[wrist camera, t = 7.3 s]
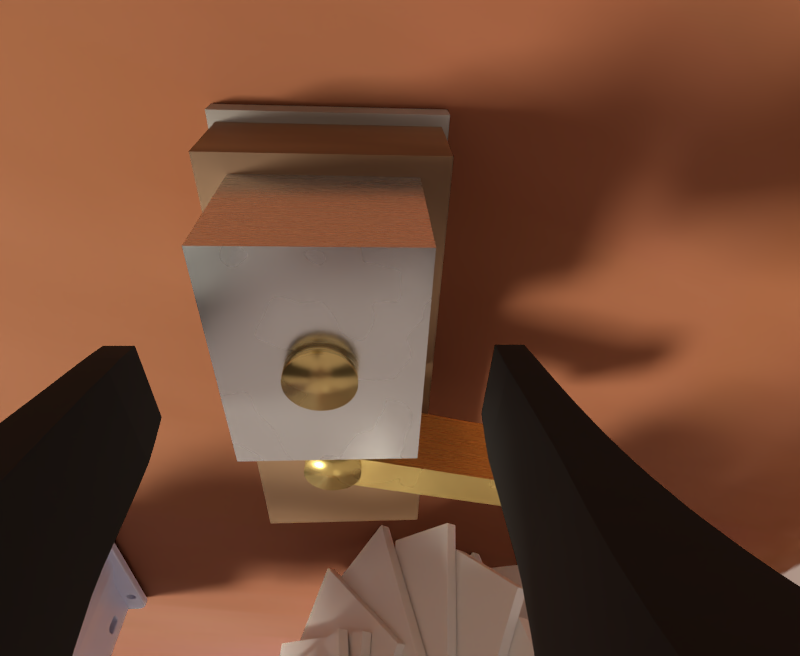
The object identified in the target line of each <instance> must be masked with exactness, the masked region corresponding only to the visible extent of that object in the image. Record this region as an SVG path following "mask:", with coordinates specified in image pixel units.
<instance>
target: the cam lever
mask: <svg viewBox="0 0 800 656" xmlns="http://www.w3.org/2000/svg"><path fill="white" fill-rule="evenodd" d="M304 476H305V478H306V480H307V481H308V482H309V483H310V484H312V485H313V486H315V487H317V488H320V489H324V490H342V489H346V488H349V487H351V486H353V485H357V486H364V487H371V488H378V489H385V490H392V491H399V492H406V493H413V494H420V495H427V496H434V497H441V498H448V499H455V500H462V501H469V502H476V503H483V504H490V505H497V506H501V503H500V500H499V496H498V493H497V489H496V485H495V482H494V478H493V474H492V471H491V467H490V463H489V460H488V454H487V448H486V442H485V435H484V428H483V424H480V423H474V422H469V421H463V420H457V419H452V418H446V417H441V416H435V415H430V414H424V413H421V424H420V435H419V446H418V457H417V458H400V459H345V460H305V467H304Z"/></svg>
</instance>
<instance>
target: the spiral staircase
mask: <svg viewBox="0 0 800 656" xmlns="http://www.w3.org/2000/svg"><path fill="white" fill-rule="evenodd" d="M280 656H534V650H533V644H532V638H531V632H530V626H529V621H528V615H527V610H526V604H525V599H524V593H523V587H522V582H521V578H520V574H519V569H518V565H512V566H503V567H494V568H490V567H488V566H487V565H485V564H483V563H482V560H481V558H480V555H479V554H477V553H474V552H472V553H471V555H469V554H467V553H465V552H463V551H460V550H457V549H456V543H455V525H453V524H450V523H446V524H443V525H440V526H437V527H434V528H431V529H428V530H425V531H422V532H419V533H416V534H413V535H410V536H407V537H404V538H401V539H398V540H396V542H395V547H394V543H393V540H392V536H391V533H390V530H389V527H386V526H384V525H381V526H380V527H379V528H378V530H377V531H376V532H375V534H374V535H373V536H372V537H371V539H370V540H369V541H368V543H367V544H366V545H365V547H364V548H363V549H362V550H361V552H360V553H359V554H358V556H357V557H356V558H355V560H354V561H353V562H352V563H351V565H350V566H349V567H348V569H347V570H346V571H345V572H344V574H343V575H342V576H341V575H340V574H339V573H338V572H337V571H336V570H335V569H331V568H328V569H327V572H326V574H325V577H324V579H323V582H322V585H321V587H320V590H319V593H318V595H317V598H316V600H315V603H314V606H313V608H312V611H311V614H310V616H309V619H308V621H307V624H306V627H305V629H304V632H303V635H302V637H301V640H300V641H295V642H289V643H282V646H281V652H280Z"/></svg>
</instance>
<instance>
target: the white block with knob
mask: <svg viewBox="0 0 800 656" xmlns="http://www.w3.org/2000/svg"><path fill="white" fill-rule="evenodd" d="M182 248H183V252H184V256H185V260H186V264H187V268H188V272H189V275H190V279H191V283H192V287H193V291H194V295H195V299H196V303H197V307H198V310H199V314H200V318H201V322H202V326H203V330H204V334H205V338H206V342H207V345H208V349H209V353H210V357H211V361H212V365H213V369H214V373H215V377H216V380H217V384H218V388H219V392H220V396H221V400H222V404H223V408H224V411H225V415H226V419H227V423H228V427H229V431H230V435H231V439H232V443H233V446H234V450H235V454H236V458H237V461H291V460H345V459H400V458H417V457H418V446H419V435H420V424H421V412H422V401H423V390H424V378H425V367H426V356H427V345H428V333H429V322H430V311H431V299H432V288H433V277H434V265H435V254H436V245H435V241H434V236H433V232H432V227H431V223H430V218H429V214H428V209H427V205H426V201H425V196H424V192H423V187H422V183H421V178H420V177H389V176H327V175H265V174H226V176H225V178H224V179H223V181H222V182H221V184H220V186H219V187H218V189H217V190H216V192H215V194H214V195H213V197H212V198H211V200H210V202H209V203H208V205H207V206H206V208H205V210H204V211H203V213H202V214H201V216H200V218H199V219H198V221H197V222H196V224H195V226H194V227H193V229H192V230H191V232H190V234H189V235H188V237H187V238H186V240H185V242H184V243H183V245H182Z"/></svg>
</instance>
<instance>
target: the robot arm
mask: <svg viewBox="0 0 800 656" xmlns="http://www.w3.org/2000/svg"><path fill="white" fill-rule="evenodd" d="M481 414H482V421H483V428H484V435H485V442H486V448H487V454H488V460H489V463H490V467H491V471H492V474H493V478H494V482H495V485H496V489H497V493H498V496H499V500H500V503H501V507H502V511H503V514H504V518H505V521H506V525H507V528H508V532H509V536H510V539H511V543H512V546H513V550H514V553H515V557H516V561H517V565H518V569H519V574H520V578H521V582H522V587H523V593H524V599H525V604H526V610H527V615H528V621H529V626H530V632H531V638H532V644H533V650H534V656H800V587H799V586H798V585H796V584H794V583H793V582H792V581H790V580H789V579H787V578H786V577H784V576H782V575H781V574H779V573H778V572H776V571H775V570H774V569H772V568H771V567H769V566H768V565H766V564H765V563H763V562H762V561H760V560H759V559H757V558H756V557H755V556H753V555H752V554H750V553H749V552H747V551H746V550H745V549H743V548H742V547H740V546H739V545H738V544H736V543H735V542H734V541H732V540H731V539H730V538H728V537H727V536H725V535H724V534H723V533H721V532H720V531H719V530H717V529H716V528H715V527H713V526H712V525H710V524H709V523H708V522H706V521H705V520H704V519H702V518H701V517H700V516H699V515H697V514H696V513H695V512H693V511H692V510H691V509H690V508H688V507H687V506H686V505H685V504H683V503H682V502H681V501H680V500H678V499H677V498H676V497H675V496H674V495H672V494H671V493H670V492H669V491H668V490H666V489H665V488H664V487H663V486H662V485H660V484H659V483H658V482H657V481H656V480H654V479H653V478H652V477H651V476H650V475H649V474H647V473H646V472H645V471H644V470H643V469H642V468H641V467H640V466H638V465H637V464H636V463H635V462H634V461H633V460H632V459H631V458H630V457H629V456H628V455H627V454H625V453H624V452H623V451H622V450H621V449H620V448H619V447H618V446H617V445H616V444H615V443H614V442H613V441H612V440H611V439H610V438H609V437H608V436H607V435H606V434H605V433H604V432H603V431H602V430H601V429H600V428H599V427H598V426H597V425H596V424H595V423H594V422H593V421H592V420H591V419H590V418H589V417H588V416H587V415H586V414H585V413H584V411H583V410H582V409H581V408H580V407H579V406H578V405H577V404H576V403H575V402H574V401H573V400H572V399H571V397H570V396H569V395H568V394H567V393H566V392H565V391H564V390H563V389H562V387H561V386H560V385H559V384H558V383H557V382H556V381H555V380H554V378H553V377H552V376H551V375H550V374H549V373H548V372H547V370H546V369H545V368H544V367H543V366H542V365H541V363H540V362H539V361H538V360H537V359H536V358H535V357H534V355H533V354H532V353H531V352H530V351H529V350H528V349H527V348H526V346H525V345H495V347H494V352H493V357H492V362H491V368H490V373H489V378H488V383H487V388H486V393H485V398H484V403H483V408H482V413H481ZM160 421H161V415H160V412H159V409H158V407H157V404H156V401H155V399H154V396H153V393H152V391H151V388H150V385H149V383H148V380H147V377H146V375H145V372H144V369H143V367H142V364H141V361H140V359H139V356H138V353H137V351H136V348H135V346H102V347H101V348H99V349H98V350H97V351H95V352H94V353H92V354H91V355H89V356H88V357H87V358H85V359H84V360H83V361H81V362H80V363H79V364H77V365H76V366H75V367H73V368H72V369H71V370H69V371H68V372H67V373H65V374H64V375H63V376H62V377H60V378H59V379H58V380H56V381H55V382H54V383H52V384H51V385H50V386H49V387H47V388H46V389H45V390H43V391H42V392H41V393H39V394H38V395H37V396H35V397H34V398H33V399H31V400H30V401H29V402H27V403H26V404H25V405H23V406H22V407H21V408H19V409H18V410H17V411H15V412H14V413H13V414H12V415H10V416H9V417H8V418H6V419H5V420H4V421H2V422H1V423H0V656H111V655H112V652H113V649H114V646H115V644H116V641H117V638H118V635H119V633H120V630H121V627H122V624H123V622H124V619H125V616H126V613H127V611H128V609H139V608H143V607H145V605H146V603H147V597H146V596H145V594H144V592H143V591H142V589H141V587H140V585H139V584H138V582H137V580H136V579H135V577H134V575H133V573H132V572H131V570H130V568H129V567H128V565H127V563H126V561H125V560H124V558H123V556H122V555H121V553H120V551H119V549H118V548H117V546H116V544H115V543H114V542H115V539H116V537H117V535H118V533H119V530H120V528H121V526H122V524H123V521H124V519H125V517H126V515H127V512H128V510H129V508H130V506H131V503H132V501H133V499H134V496H135V494H136V492H137V489H138V487H139V485H140V482H141V480H142V478H143V475H144V473H145V471H146V468H147V466H148V463H149V460H150V457H151V454H152V450H153V447H154V444H155V440H156V436H157V432H158V429H159V425H160Z"/></svg>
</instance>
